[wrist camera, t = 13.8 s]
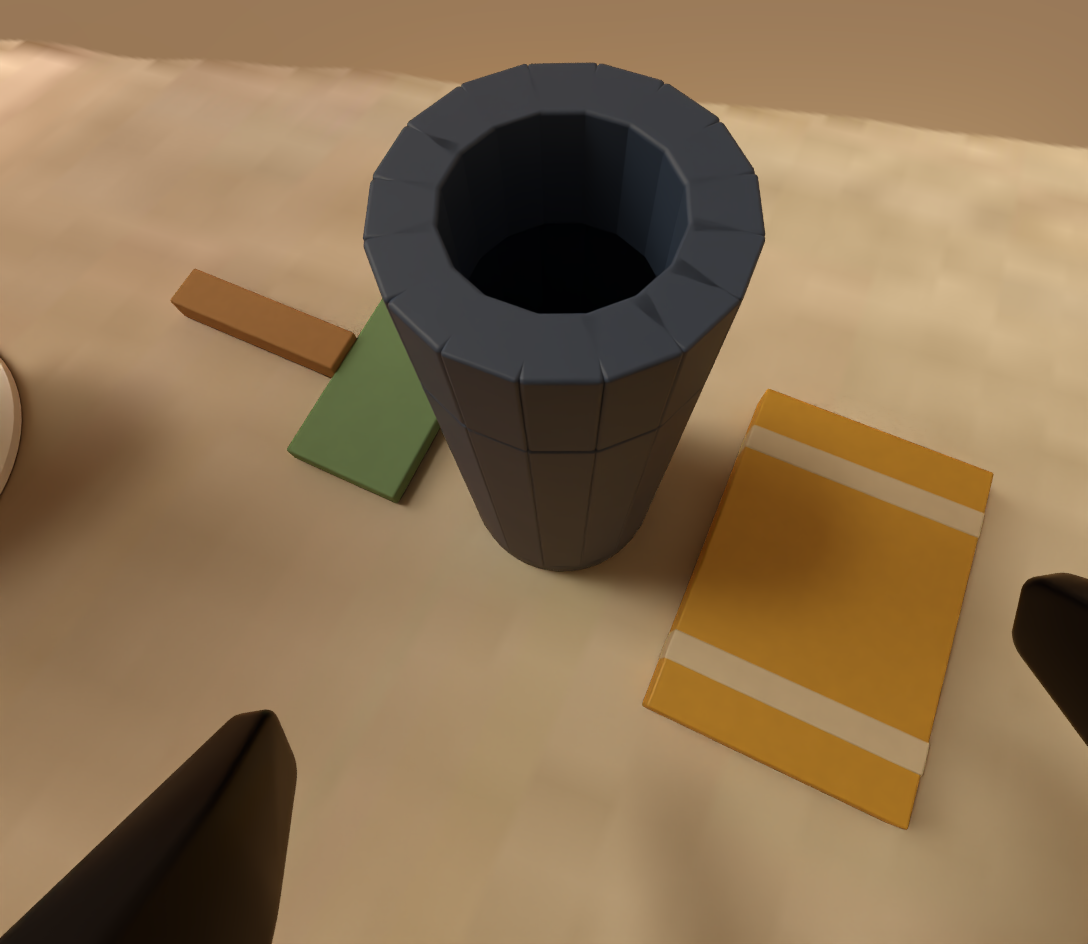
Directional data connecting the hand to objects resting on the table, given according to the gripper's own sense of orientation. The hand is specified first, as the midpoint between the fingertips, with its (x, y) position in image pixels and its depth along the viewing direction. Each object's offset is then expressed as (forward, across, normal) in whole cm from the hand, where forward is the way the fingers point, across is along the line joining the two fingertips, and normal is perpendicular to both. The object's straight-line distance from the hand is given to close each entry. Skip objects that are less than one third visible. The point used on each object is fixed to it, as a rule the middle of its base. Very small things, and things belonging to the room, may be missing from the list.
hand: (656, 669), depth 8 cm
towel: (+10, -7, +8) cm, 15 cm away
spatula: (+18, +8, -1) cm, 20 cm away
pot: (+13, 0, +4) cm, 14 cm away
